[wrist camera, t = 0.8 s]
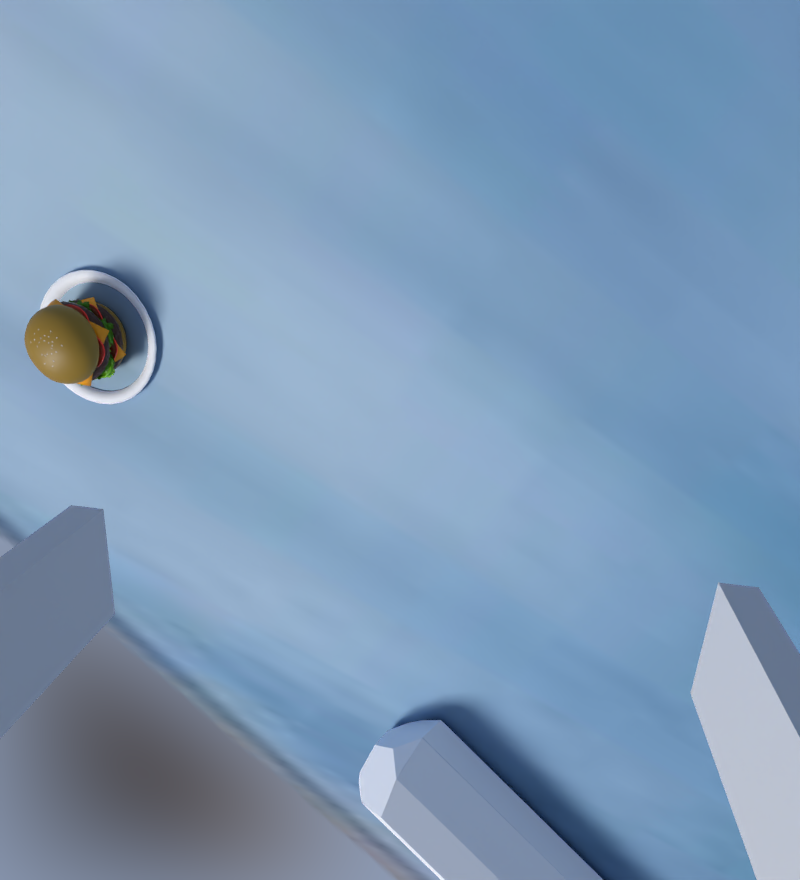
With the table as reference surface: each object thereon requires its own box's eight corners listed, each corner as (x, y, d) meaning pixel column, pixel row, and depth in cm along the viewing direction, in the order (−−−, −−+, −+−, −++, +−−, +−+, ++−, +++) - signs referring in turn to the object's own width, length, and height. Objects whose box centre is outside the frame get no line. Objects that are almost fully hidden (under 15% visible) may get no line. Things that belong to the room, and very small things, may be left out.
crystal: (685, 969, 45) (427, 715, 44) (613, 1060, 44) (347, 802, 43) (633, 901, 52) (411, 682, 51) (570, 977, 51) (342, 756, 50)
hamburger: (201, 418, 47) (154, 442, 42) (54, 424, 50) (-6, 447, 45) (166, 234, 43) (111, 236, 38) (11, 253, 46) (-59, 257, 41)
